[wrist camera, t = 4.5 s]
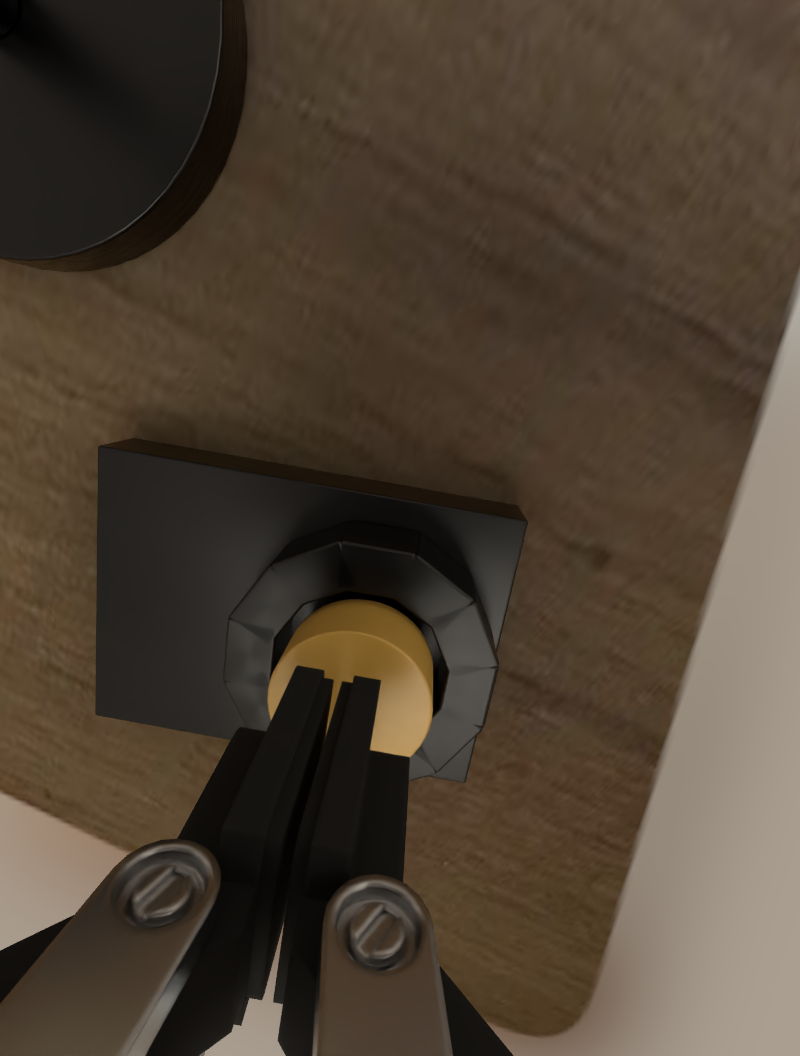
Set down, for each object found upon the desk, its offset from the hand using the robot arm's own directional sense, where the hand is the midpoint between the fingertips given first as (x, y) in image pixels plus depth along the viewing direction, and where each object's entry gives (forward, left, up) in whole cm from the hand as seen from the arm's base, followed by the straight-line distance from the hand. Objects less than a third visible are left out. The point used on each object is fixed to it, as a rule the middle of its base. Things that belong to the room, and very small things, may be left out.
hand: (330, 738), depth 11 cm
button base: (+2, 0, -6) cm, 6 cm away
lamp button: (0, 0, -3) cm, 3 cm away
